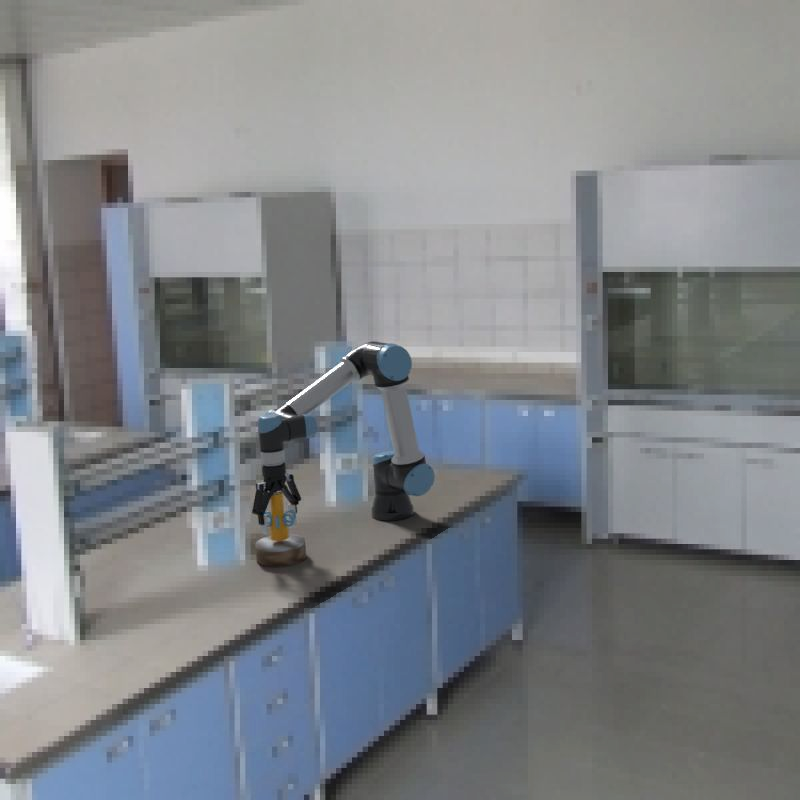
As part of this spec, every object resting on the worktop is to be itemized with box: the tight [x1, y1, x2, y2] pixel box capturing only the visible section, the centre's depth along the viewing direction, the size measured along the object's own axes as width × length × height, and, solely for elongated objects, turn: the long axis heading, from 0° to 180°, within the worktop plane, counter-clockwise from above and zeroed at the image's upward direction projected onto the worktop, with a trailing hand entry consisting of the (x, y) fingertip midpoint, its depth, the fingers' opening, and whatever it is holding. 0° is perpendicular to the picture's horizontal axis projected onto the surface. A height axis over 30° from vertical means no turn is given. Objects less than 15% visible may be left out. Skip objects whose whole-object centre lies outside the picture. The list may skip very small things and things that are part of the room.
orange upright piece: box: [265, 491, 297, 541], centre depth 346 cm, size 12×10×15 cm
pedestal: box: [254, 533, 307, 568], centre depth 348 cm, size 16×16×6 cm
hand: (279, 528), depth 347 cm, fingers closed on orange upright piece, 11 cm apart
